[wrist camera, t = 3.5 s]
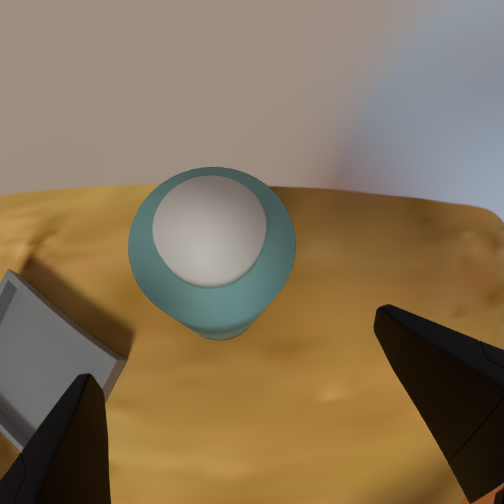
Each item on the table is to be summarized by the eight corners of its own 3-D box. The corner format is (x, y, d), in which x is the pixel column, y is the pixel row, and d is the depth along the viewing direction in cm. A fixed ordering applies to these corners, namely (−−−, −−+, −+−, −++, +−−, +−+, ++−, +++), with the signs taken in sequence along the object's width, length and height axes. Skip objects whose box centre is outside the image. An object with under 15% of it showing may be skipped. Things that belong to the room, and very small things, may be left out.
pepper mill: (235, 354, 18) (250, 358, 7) (166, 316, 18) (84, 259, 7) (271, 286, 20) (329, 193, 8) (204, 251, 20) (182, 127, 9)
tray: (70, 476, 14) (58, 484, 12) (-23, 385, 14) (-38, 384, 13) (127, 359, 17) (116, 360, 15) (22, 275, 18) (7, 268, 16)
